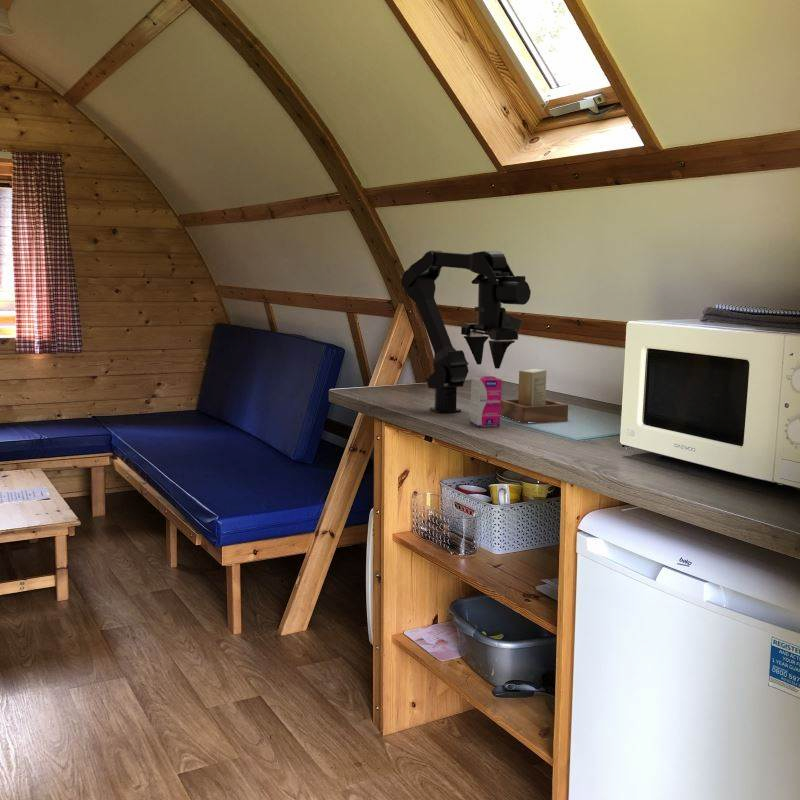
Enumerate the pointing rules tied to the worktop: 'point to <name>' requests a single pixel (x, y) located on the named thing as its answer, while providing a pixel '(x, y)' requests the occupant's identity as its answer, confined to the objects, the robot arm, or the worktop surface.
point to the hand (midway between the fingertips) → (487, 366)
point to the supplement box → (485, 401)
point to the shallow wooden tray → (534, 411)
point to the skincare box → (532, 387)
